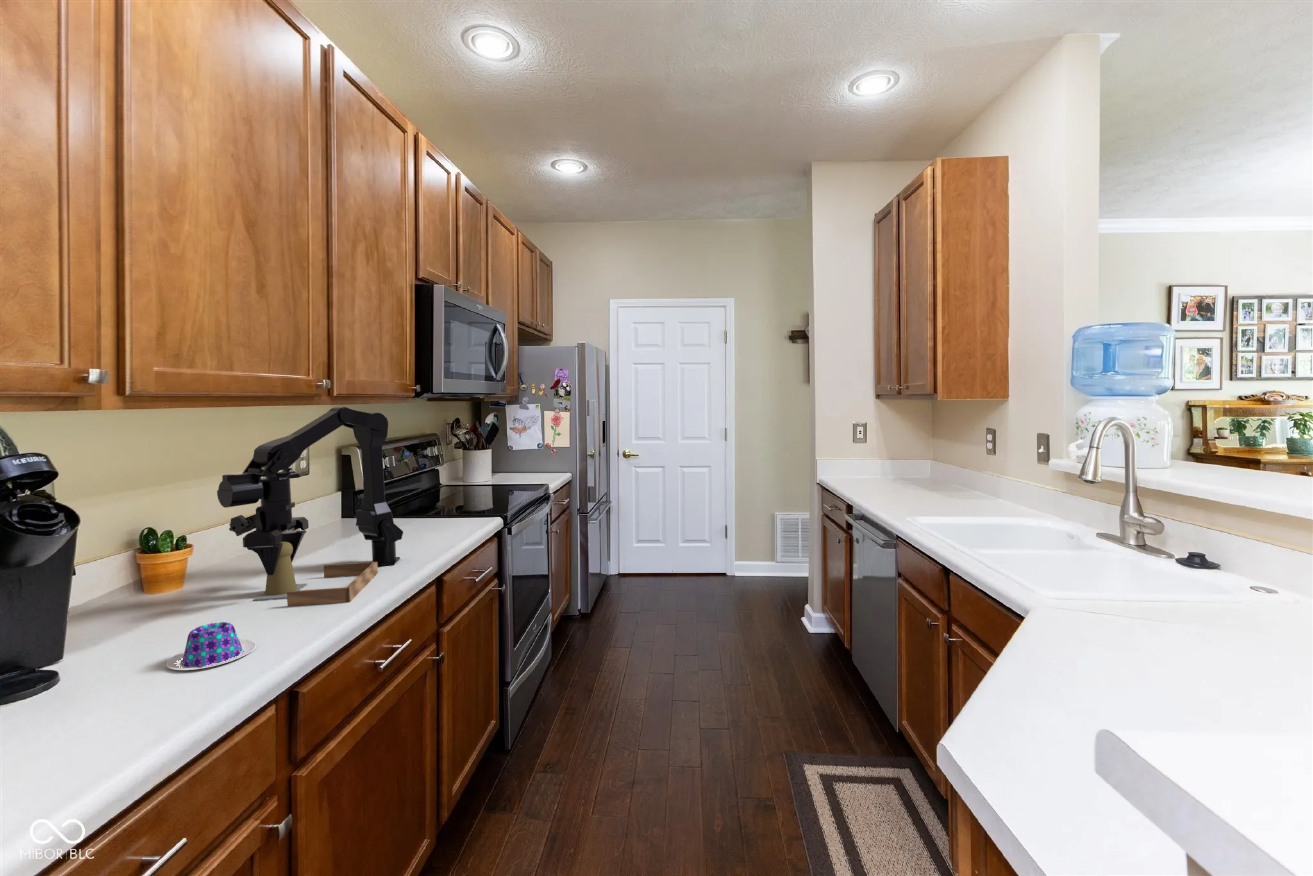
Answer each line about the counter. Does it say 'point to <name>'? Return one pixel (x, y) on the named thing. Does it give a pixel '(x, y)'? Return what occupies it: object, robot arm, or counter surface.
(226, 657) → the patterned hat
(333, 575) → the wooden u-shaped frame
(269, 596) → the grey mat
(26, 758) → the counter surface
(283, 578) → the cork
